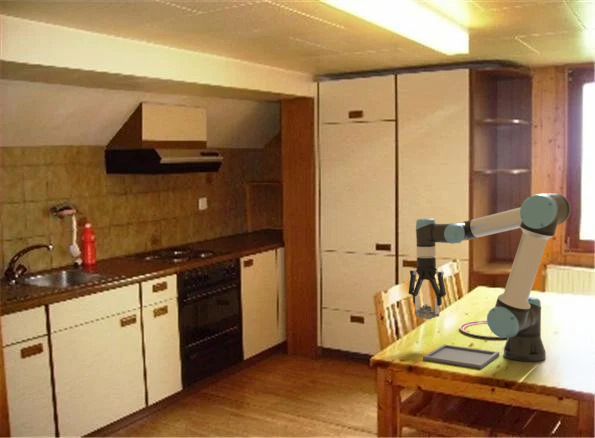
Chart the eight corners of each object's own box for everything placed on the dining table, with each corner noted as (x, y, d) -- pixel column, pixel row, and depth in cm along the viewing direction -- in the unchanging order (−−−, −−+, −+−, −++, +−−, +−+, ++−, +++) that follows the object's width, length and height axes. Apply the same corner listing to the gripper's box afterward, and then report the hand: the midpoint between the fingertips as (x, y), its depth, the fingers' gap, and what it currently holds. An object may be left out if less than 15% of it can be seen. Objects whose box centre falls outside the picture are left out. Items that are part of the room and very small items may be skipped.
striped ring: (529, 343, 258) (529, 335, 258) (461, 341, 264) (461, 333, 264) (519, 328, 285) (519, 321, 285) (458, 326, 291) (458, 319, 290)
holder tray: (499, 355, 240) (499, 352, 240) (480, 369, 224) (480, 365, 224) (444, 347, 253) (444, 344, 253) (423, 360, 237) (423, 356, 237)
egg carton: (426, 313, 260) (426, 303, 259) (442, 316, 255) (442, 306, 254) (412, 316, 252) (413, 306, 251) (428, 320, 247) (429, 310, 246)
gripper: (454, 256, 248) (455, 313, 249) (406, 254, 261) (408, 308, 262) (446, 258, 242) (448, 316, 243) (398, 256, 254) (400, 311, 256)
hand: (427, 312), depth 252 cm, fingers closed on egg carton, 8 cm apart
